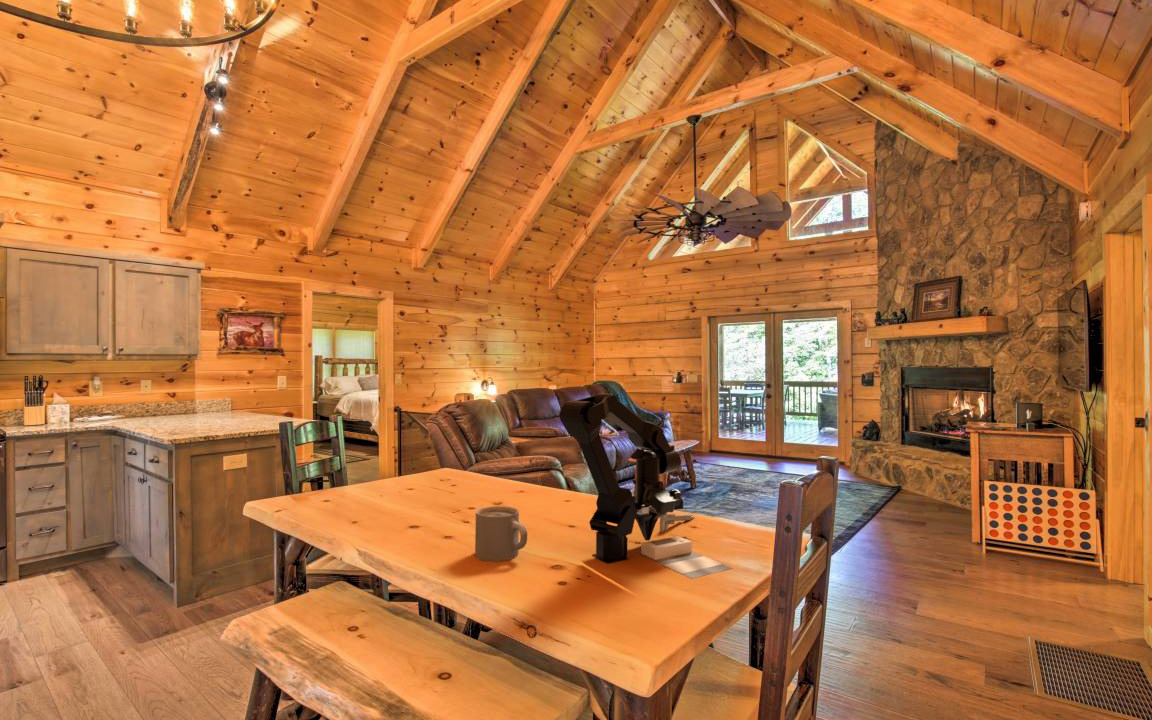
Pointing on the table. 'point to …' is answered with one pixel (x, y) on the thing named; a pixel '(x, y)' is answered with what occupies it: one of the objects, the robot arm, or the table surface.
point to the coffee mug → (498, 533)
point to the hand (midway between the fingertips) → (647, 540)
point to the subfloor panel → (691, 564)
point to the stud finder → (666, 547)
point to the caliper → (672, 520)
